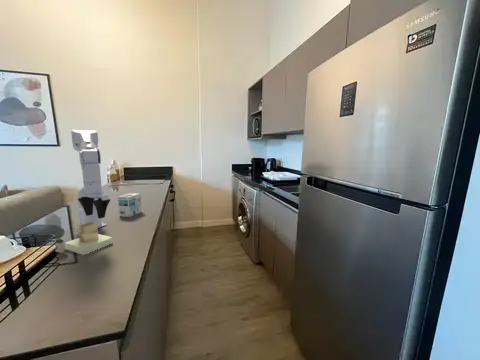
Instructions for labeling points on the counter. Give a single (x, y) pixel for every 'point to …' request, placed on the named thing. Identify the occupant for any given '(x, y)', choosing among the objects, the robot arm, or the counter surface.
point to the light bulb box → (129, 204)
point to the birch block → (88, 232)
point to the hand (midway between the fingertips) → (95, 216)
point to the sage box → (88, 244)
